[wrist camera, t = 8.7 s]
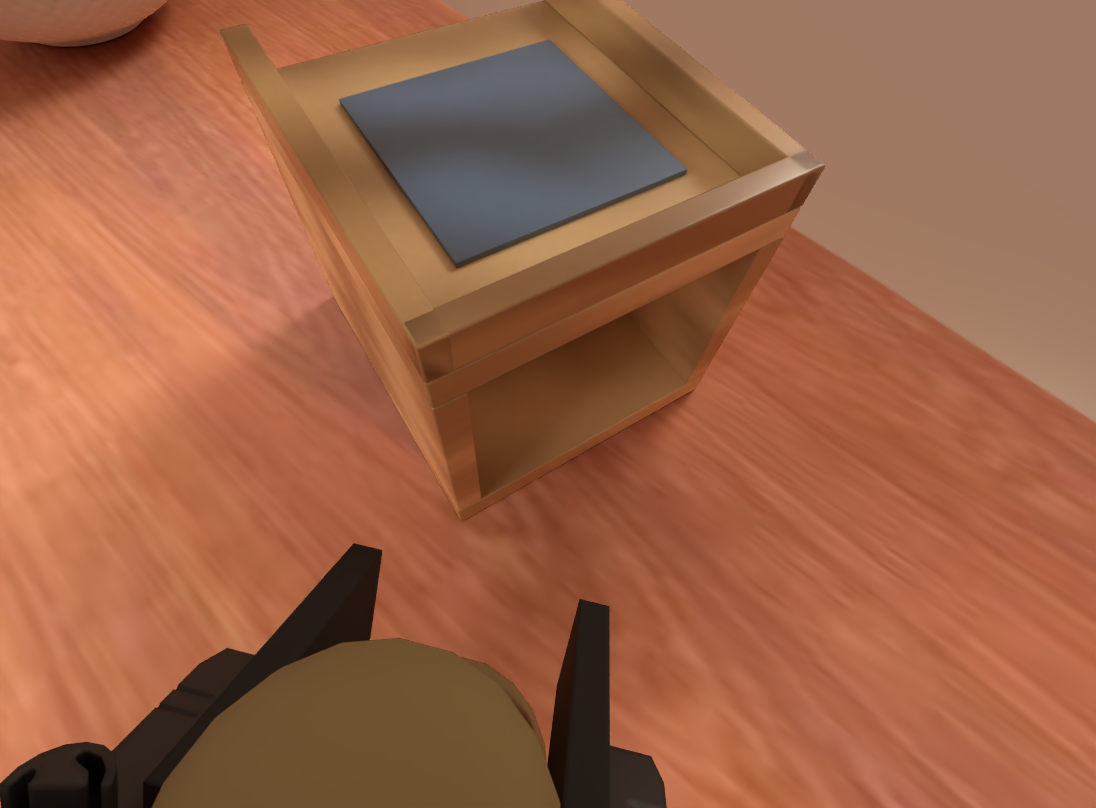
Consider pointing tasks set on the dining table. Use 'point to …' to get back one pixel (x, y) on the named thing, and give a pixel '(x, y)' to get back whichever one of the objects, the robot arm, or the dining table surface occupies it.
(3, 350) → the dining table surface
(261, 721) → the olive pawn piece
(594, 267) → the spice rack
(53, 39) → the cereal bowl
